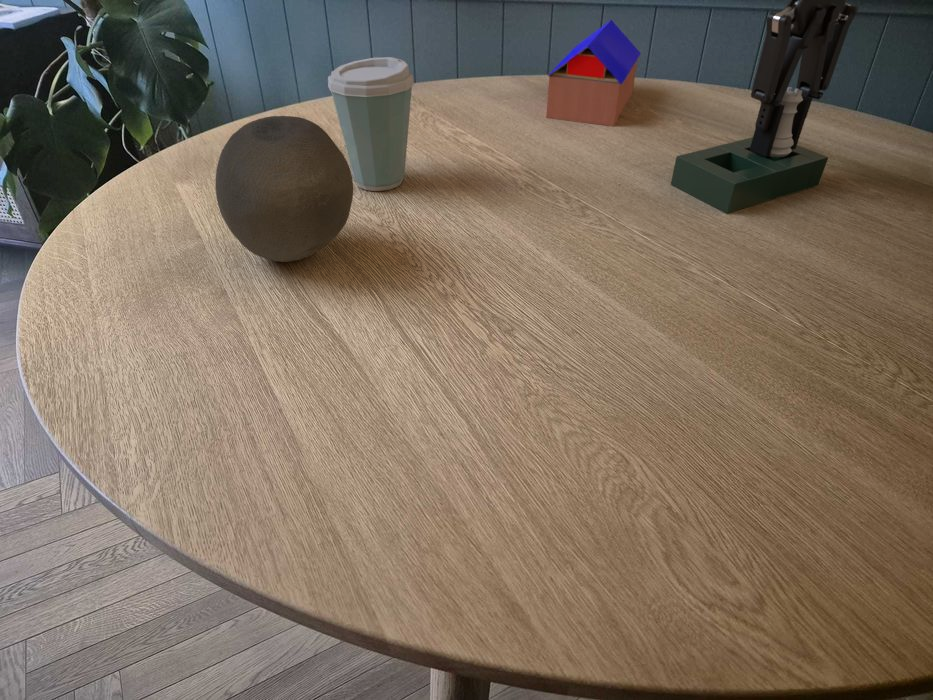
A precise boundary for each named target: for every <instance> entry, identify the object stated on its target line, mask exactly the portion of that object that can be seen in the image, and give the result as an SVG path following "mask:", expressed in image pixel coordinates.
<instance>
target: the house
mask: <svg viewBox="0 0 933 700" xmlns="http://www.w3.org/2000/svg"><path fill="white" fill-rule="evenodd" d="M640 57H641V51H640V50H638V48H637V47H636V46H635V45H634V44H633V42H632V41H631V40H630V39H629V38H628V37H627V35H626V34H625V33H624V32H623V31H622V30H621V29H620V28H619V26H618V25H617V24H616V23H615V22H614V21H613V20H612V19H610V20H609V21H608V22H606V23H605V24H603V25H602V26H600V28H598V29H597V30H596V31H594V32H593V33H591V34H590V35H589V36H588V37H586V38H585V39H583V40H582V41H581V42H580V43H578V44H577V45H576V46H574V47H573V48H572V49H571V51H569V53H568V54H567V55H565V57H564V58H563V59H562V60H561V61H560V62H559V63H558V64H557V65H556V66H555V68H554V69H552V70H551V72H550V73H549V74H548V75H547V77H548V78H549V79H548V89H547V100H546V101H547V102H546V113H545V119H552V120H553V119H555V120H562V121H568V122H576V123H586V124H593V125H601V126H609V127H615V125H616V124H617V121H618V119H619V117H620V115H621V114H622V112H623V110H624V109H625V107H626V105H627V103H628V102H629V99H630V98H631V96H632V94H633V93H634V92H633V91H634V85H635V79H636V74H637V67H638V60H639V58H640Z"/></svg>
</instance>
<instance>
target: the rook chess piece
mask: <svg viewBox="0 0 933 700" xmlns="http://www.w3.org/2000/svg"><path fill="white" fill-rule="evenodd" d="M801 94H802V90H799V89H797V87H795V88H794V91H793V87H791V86H790V87H789V86H788V87H787V90H786V92H785V94H784V97H783V99H782V101H781V103H780V104H781V105H784V106H785V107H784V110H783V113H782V117H781V120H780V123H779V126H778V130H777V133H776V136H775V140H774V143H773V146H772V150H771V153H770V156H771V157H784V156H787V155H788V154H789V153H791V152H792V150H791V148H790V147H791V146H792V145H793V144H794V141H793V139H792V136H793V135H792V133H791V132H792V123H793V118H794V115H795V113H796V112H797V110H796V108H797V105H798V104H799V103H800V102H801V101H802V100H803V99H802V96H801Z"/></svg>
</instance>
